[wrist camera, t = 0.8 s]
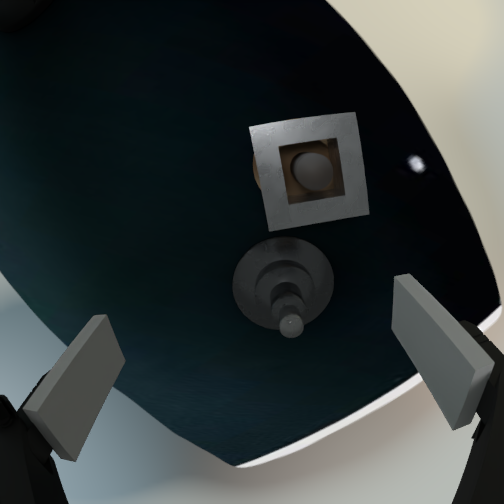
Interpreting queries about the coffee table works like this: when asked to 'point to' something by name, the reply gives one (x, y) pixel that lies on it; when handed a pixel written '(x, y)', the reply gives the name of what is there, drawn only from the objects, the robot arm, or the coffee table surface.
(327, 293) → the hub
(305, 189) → the stand
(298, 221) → the collar
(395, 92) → the coffee table surface
